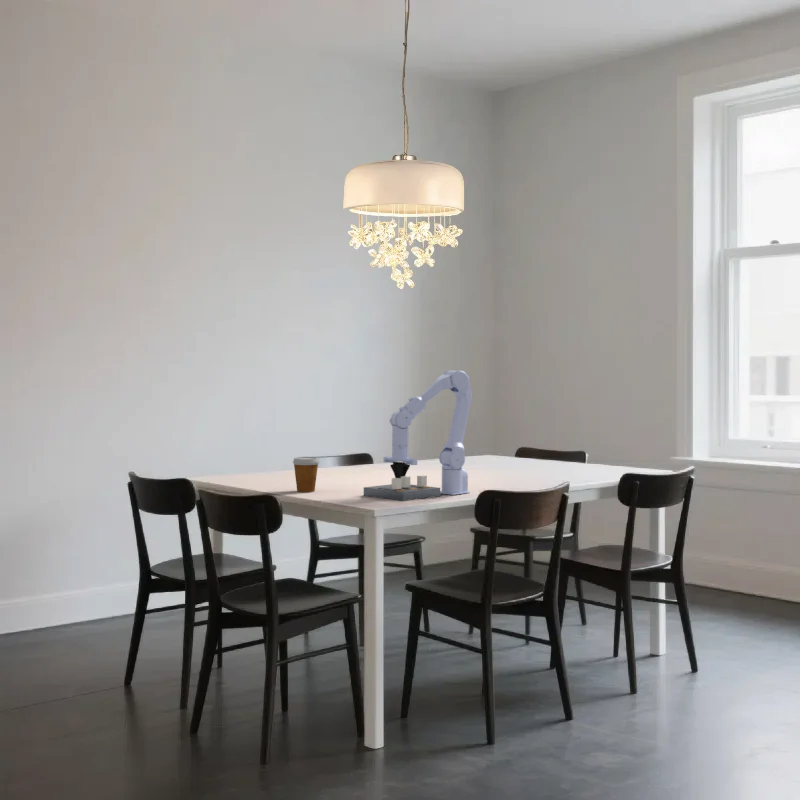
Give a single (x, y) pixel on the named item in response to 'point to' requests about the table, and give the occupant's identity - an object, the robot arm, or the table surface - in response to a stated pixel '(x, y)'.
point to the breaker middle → (405, 481)
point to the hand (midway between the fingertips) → (400, 484)
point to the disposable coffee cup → (305, 473)
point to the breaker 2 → (421, 480)
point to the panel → (402, 492)
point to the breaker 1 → (396, 483)
